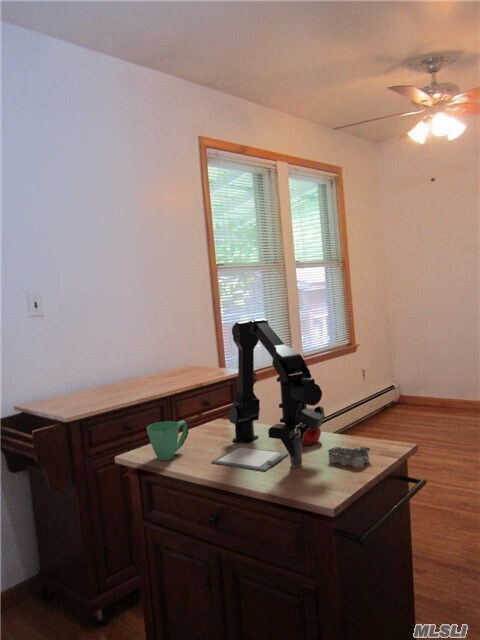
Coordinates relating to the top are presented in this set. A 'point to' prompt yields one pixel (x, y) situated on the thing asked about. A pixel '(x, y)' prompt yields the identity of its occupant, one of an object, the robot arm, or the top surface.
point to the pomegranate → (311, 436)
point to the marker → (297, 452)
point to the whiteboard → (250, 458)
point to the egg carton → (349, 456)
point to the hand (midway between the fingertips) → (295, 454)
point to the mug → (166, 438)
